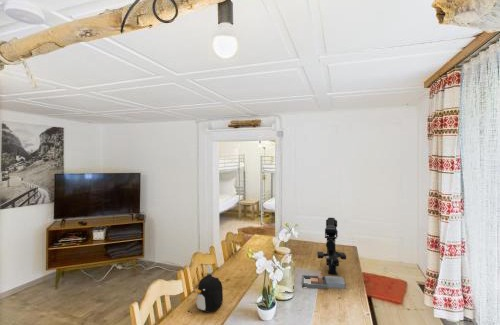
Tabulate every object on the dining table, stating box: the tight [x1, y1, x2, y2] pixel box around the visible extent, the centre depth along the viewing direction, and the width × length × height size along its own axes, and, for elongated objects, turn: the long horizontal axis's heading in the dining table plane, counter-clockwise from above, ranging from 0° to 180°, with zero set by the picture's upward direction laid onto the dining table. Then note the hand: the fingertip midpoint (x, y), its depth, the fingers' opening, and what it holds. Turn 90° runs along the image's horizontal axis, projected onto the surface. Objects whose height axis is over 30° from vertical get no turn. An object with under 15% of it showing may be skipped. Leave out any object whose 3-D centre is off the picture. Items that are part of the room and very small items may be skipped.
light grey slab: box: [324, 275, 346, 290], centre depth 175 cm, size 10×12×4 cm
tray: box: [301, 274, 328, 290], centre depth 178 cm, size 14×16×2 cm
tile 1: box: [311, 278, 318, 284], centre depth 178 cm, size 5×5×2 cm
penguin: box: [195, 274, 224, 312], centre depth 153 cm, size 18×18×17 cm
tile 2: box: [317, 274, 323, 284], centre depth 178 cm, size 5×5×2 cm
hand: (331, 267), depth 176 cm, fingers closed
